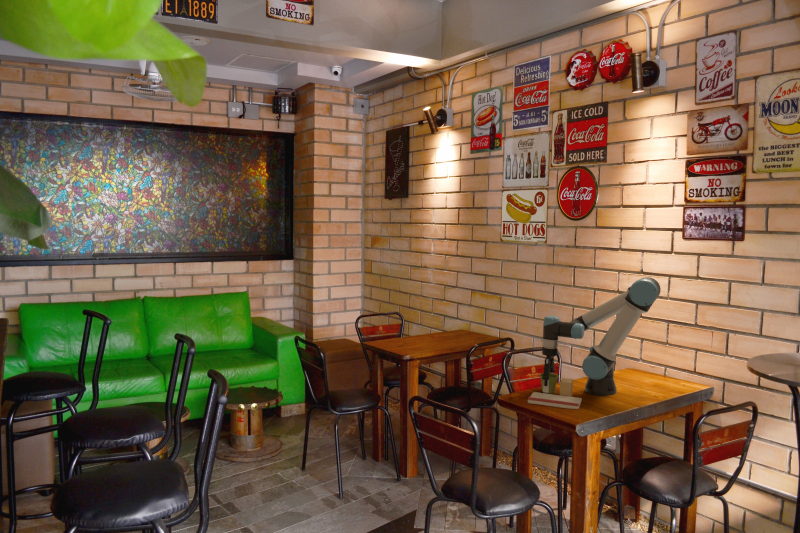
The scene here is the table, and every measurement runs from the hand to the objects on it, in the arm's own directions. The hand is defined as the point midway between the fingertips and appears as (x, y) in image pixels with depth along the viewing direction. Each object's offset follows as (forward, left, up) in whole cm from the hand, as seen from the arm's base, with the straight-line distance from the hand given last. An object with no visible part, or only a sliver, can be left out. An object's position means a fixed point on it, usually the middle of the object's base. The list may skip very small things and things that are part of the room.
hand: (548, 388), depth 299 cm
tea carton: (-9, +3, -2) cm, 10 cm away
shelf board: (-6, +15, -2) cm, 16 cm away
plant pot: (0, 0, -2) cm, 2 cm away
